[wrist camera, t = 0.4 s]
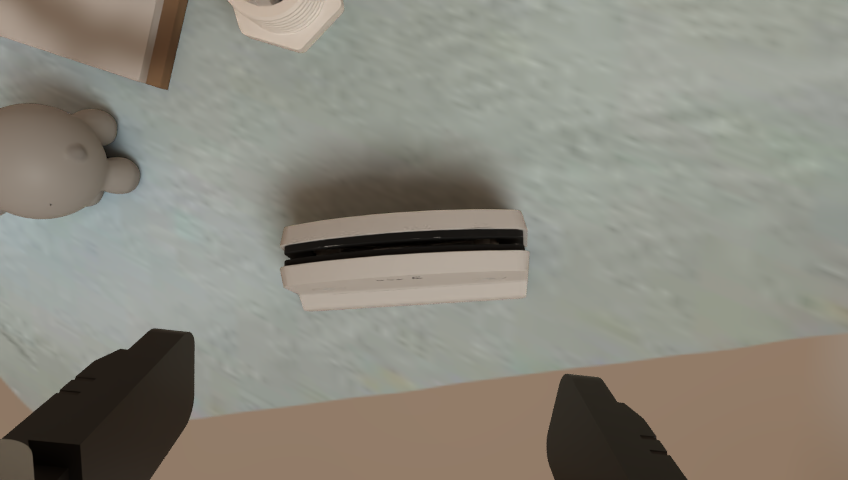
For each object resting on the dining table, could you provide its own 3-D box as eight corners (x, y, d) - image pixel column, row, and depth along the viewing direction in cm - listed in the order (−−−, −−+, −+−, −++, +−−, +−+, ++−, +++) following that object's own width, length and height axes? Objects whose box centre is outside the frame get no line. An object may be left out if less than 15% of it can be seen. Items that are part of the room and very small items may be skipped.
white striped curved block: (305, 311, 37) (251, 304, 28) (304, 249, 38) (251, 221, 28) (529, 297, 36) (555, 285, 27) (522, 234, 37) (546, 200, 28)
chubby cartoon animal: (-26, 149, 37) (-167, 145, 28) (120, 97, 35) (19, 78, 27) (15, 241, 38) (-110, 264, 29) (158, 194, 36) (71, 204, 28)
